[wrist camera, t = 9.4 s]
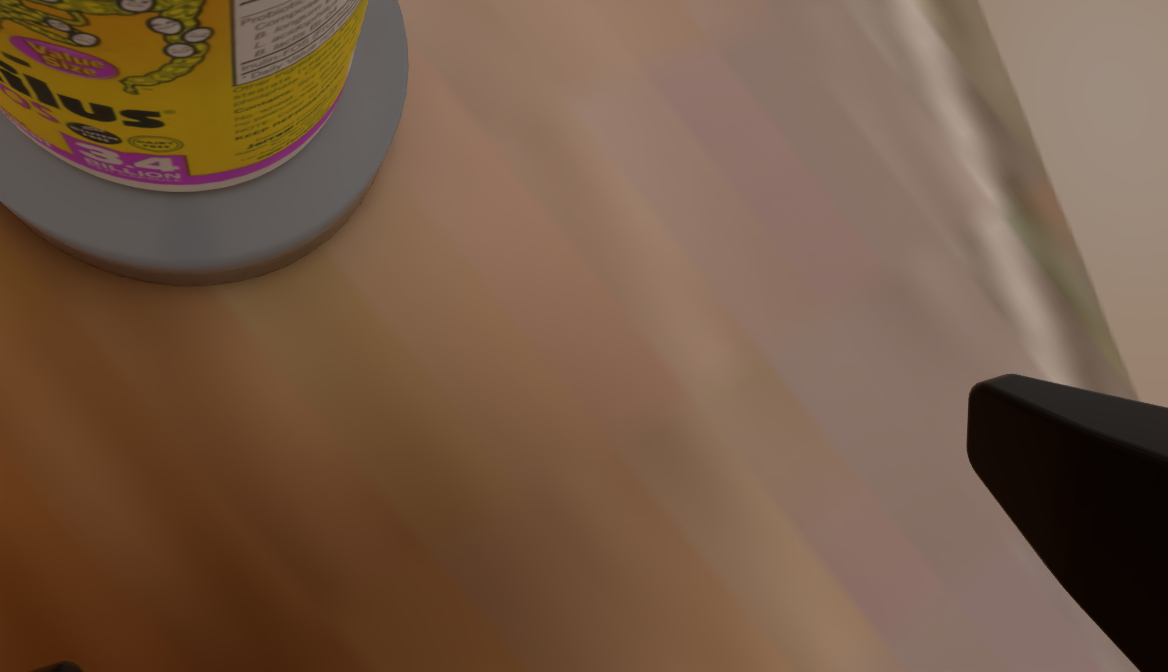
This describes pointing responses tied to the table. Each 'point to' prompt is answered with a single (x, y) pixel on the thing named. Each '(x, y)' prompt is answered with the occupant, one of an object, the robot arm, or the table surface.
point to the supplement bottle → (175, 83)
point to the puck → (225, 215)
